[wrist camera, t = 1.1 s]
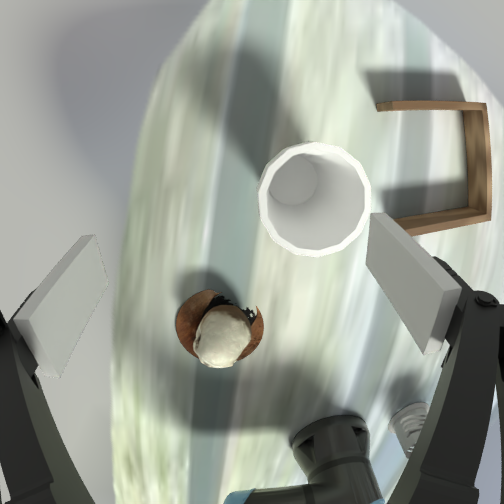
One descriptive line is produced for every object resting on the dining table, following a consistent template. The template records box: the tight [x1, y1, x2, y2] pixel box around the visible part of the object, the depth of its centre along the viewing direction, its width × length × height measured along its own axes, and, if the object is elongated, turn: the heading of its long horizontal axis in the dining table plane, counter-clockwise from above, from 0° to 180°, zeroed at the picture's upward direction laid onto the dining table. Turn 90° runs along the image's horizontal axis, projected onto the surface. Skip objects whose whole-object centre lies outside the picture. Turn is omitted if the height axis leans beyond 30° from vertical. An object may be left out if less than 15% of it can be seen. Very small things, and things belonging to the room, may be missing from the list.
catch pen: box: [376, 101, 492, 236], centre depth 35 cm, size 16×15×4 cm
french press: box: [388, 402, 430, 458], centre depth 43 cm, size 10×12×25 cm
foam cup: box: [257, 141, 371, 257], centre depth 31 cm, size 10×9×13 cm
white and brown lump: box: [176, 289, 264, 368], centre depth 43 cm, size 12×10×10 cm
